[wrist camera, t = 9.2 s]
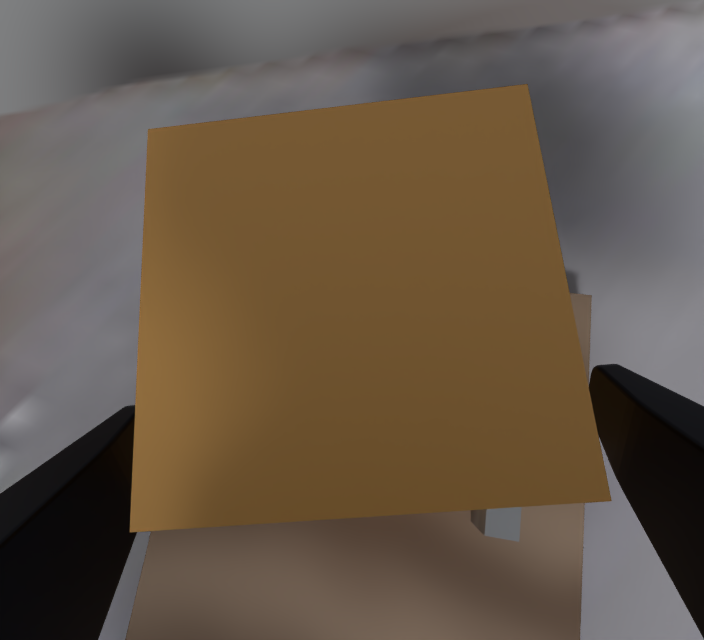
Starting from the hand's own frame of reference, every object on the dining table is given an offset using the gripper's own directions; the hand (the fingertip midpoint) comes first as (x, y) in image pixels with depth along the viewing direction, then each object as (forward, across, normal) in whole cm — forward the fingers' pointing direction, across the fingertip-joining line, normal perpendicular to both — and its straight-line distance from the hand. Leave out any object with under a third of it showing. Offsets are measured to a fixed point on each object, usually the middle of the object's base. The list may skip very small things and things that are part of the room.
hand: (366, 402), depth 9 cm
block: (+6, 0, +5) cm, 8 cm away
